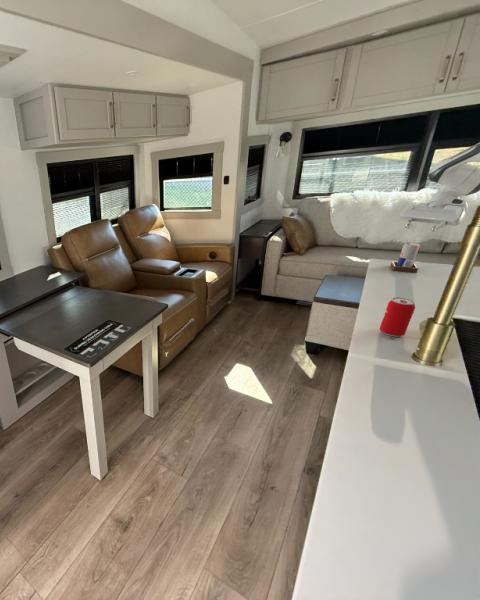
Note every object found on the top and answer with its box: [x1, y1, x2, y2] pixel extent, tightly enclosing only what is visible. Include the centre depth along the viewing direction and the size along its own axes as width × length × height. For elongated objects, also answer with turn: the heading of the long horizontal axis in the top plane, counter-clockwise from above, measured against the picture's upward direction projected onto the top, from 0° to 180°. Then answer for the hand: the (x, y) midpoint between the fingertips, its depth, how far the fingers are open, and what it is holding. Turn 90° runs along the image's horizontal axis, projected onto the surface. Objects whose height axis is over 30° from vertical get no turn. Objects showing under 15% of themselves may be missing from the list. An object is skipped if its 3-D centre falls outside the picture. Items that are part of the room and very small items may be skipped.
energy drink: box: [397, 241, 421, 268], centre depth 150 cm, size 5×5×12 cm
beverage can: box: [379, 296, 416, 338], centre depth 103 cm, size 6×6×12 cm
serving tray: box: [390, 261, 419, 274], centre depth 152 cm, size 8×8×2 cm
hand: (419, 229), depth 143 cm, fingers open, 8 cm apart
